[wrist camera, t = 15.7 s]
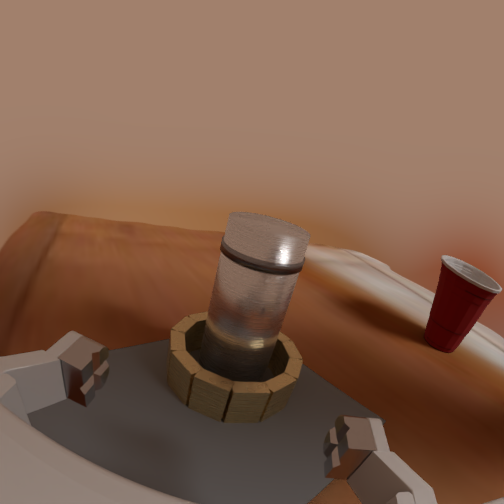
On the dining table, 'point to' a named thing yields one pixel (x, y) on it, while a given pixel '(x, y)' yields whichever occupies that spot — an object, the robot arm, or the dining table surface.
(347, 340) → the dining table surface
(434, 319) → the plastic cup
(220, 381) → the brass collar
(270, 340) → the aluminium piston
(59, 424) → the rubber mat
